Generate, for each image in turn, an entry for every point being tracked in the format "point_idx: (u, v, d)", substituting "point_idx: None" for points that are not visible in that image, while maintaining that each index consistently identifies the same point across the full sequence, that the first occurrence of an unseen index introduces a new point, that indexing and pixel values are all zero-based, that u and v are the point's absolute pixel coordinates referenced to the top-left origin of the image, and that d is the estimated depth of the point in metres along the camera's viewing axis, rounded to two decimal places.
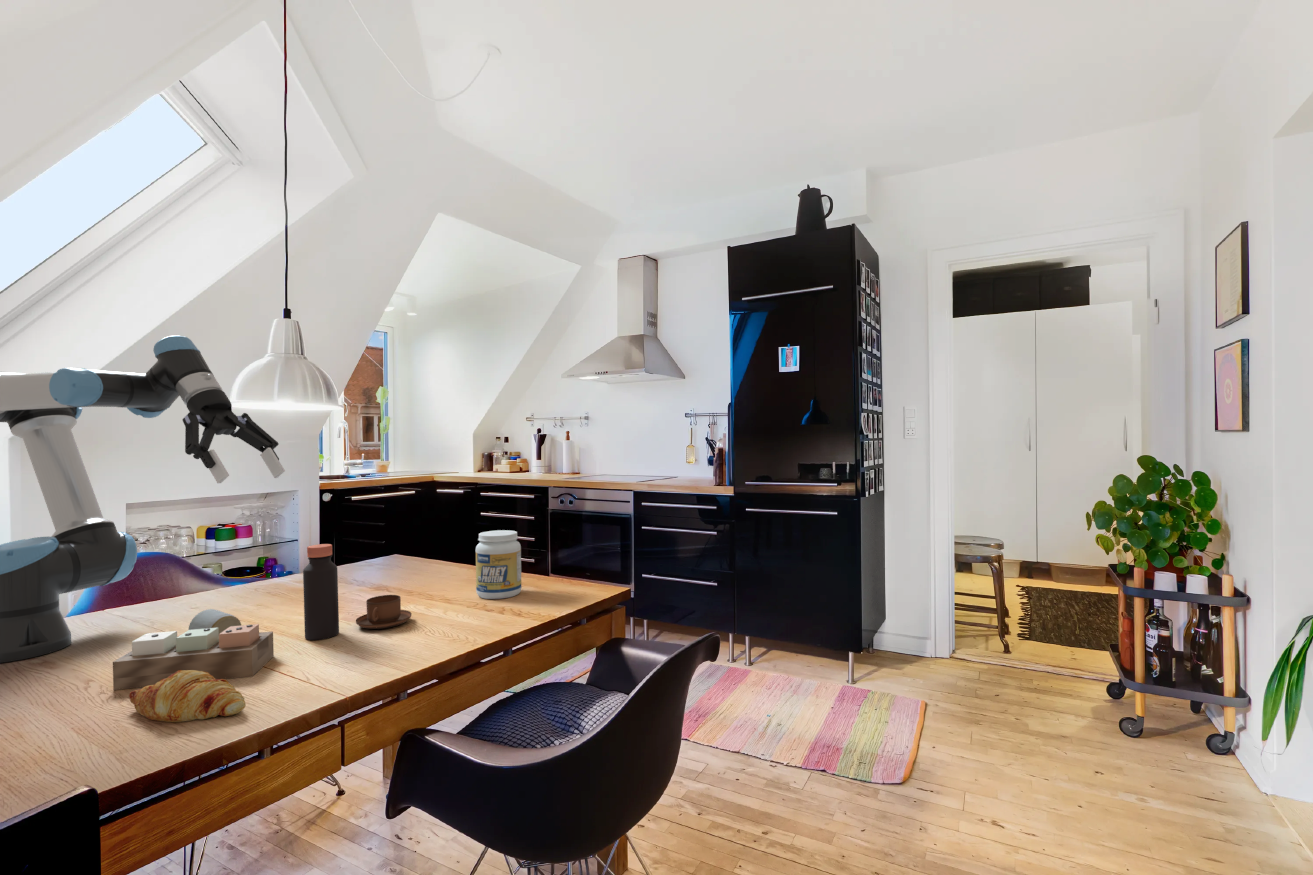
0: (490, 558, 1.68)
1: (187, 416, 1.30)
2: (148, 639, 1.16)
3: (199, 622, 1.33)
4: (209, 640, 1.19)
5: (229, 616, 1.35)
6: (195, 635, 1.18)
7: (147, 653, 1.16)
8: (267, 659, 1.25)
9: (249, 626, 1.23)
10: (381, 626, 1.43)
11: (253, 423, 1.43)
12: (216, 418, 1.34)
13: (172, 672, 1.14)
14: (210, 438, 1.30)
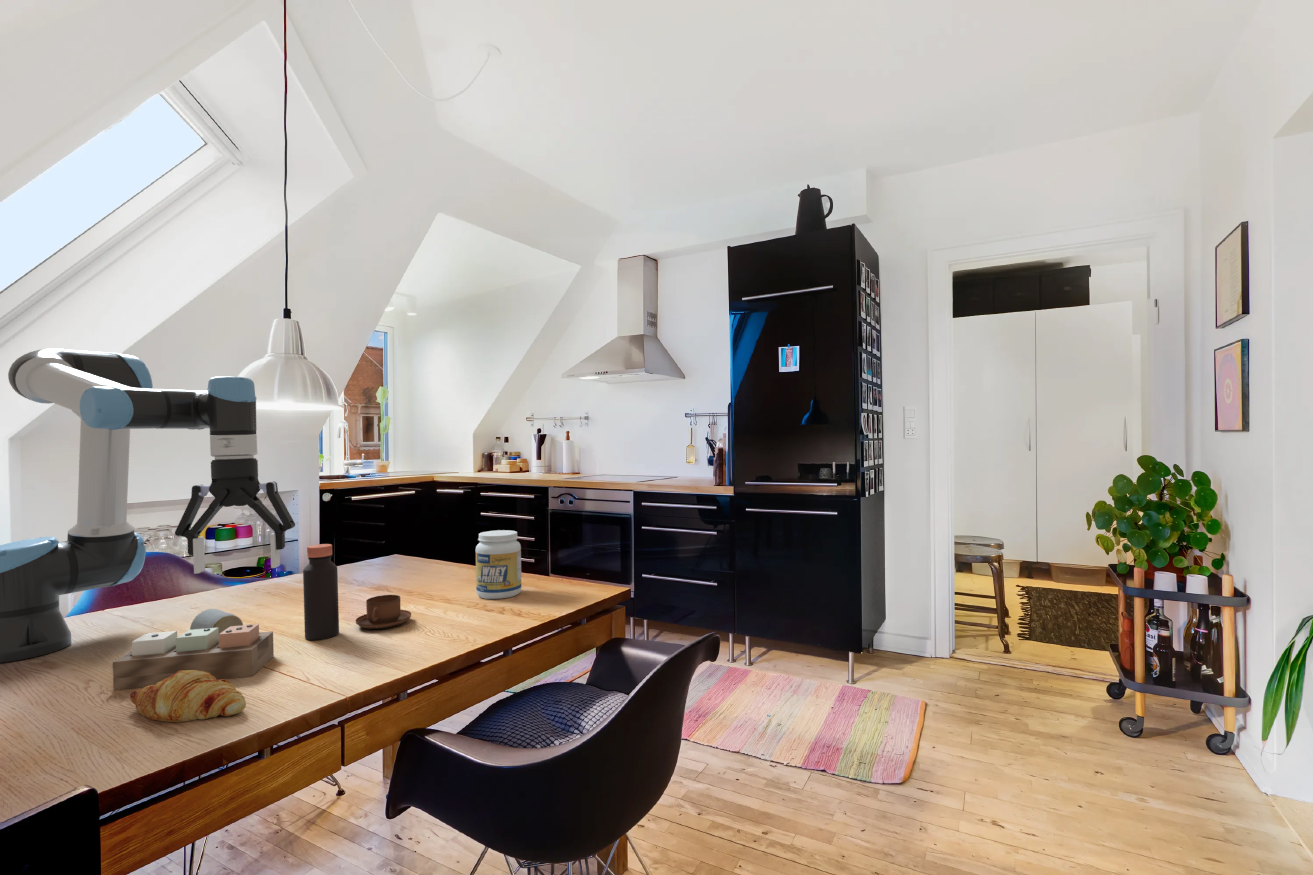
0: (490, 558, 1.68)
1: None
2: (148, 639, 1.16)
3: (201, 622, 1.34)
4: (209, 640, 1.19)
5: (231, 616, 1.35)
6: (195, 635, 1.18)
7: (147, 653, 1.16)
8: (267, 659, 1.25)
9: (249, 626, 1.23)
10: (381, 626, 1.43)
11: (273, 497, 1.22)
12: (218, 495, 1.19)
13: (172, 672, 1.14)
14: (201, 522, 1.19)
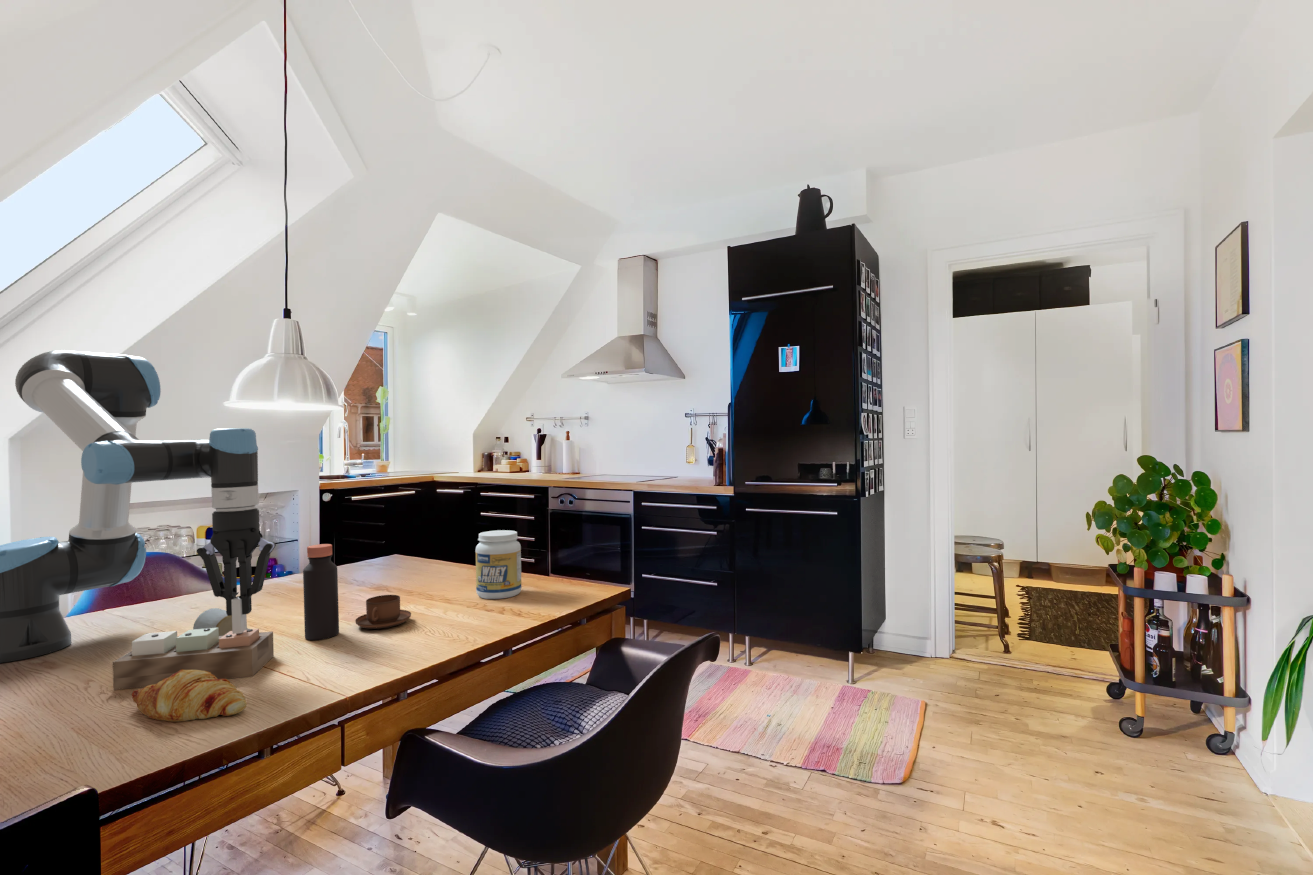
0: (490, 558, 1.68)
1: None
2: (148, 639, 1.16)
3: (204, 621, 1.34)
4: (209, 640, 1.19)
5: None
6: (195, 635, 1.18)
7: (147, 653, 1.16)
8: (267, 659, 1.25)
9: (249, 631, 1.23)
10: (381, 626, 1.43)
11: (262, 558, 1.21)
12: (223, 549, 1.19)
13: (172, 672, 1.14)
14: (229, 579, 1.20)
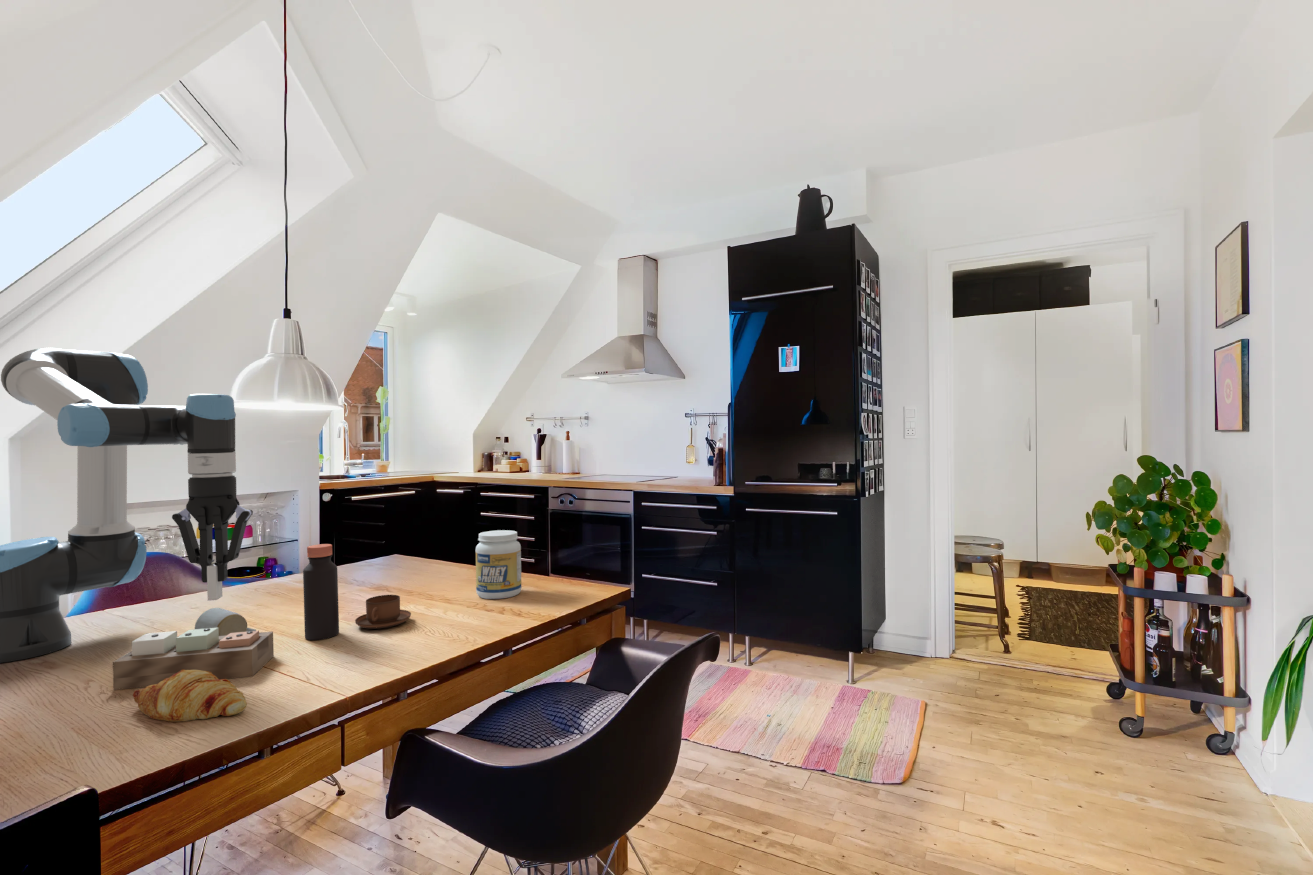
0: (490, 558, 1.68)
1: None
2: (148, 639, 1.16)
3: (205, 620, 1.34)
4: (209, 640, 1.19)
5: (235, 614, 1.36)
6: (195, 635, 1.18)
7: (147, 653, 1.16)
8: (267, 659, 1.25)
9: (249, 633, 1.23)
10: (380, 626, 1.43)
11: (239, 525, 1.21)
12: (199, 515, 1.19)
13: (172, 672, 1.14)
14: (204, 546, 1.19)
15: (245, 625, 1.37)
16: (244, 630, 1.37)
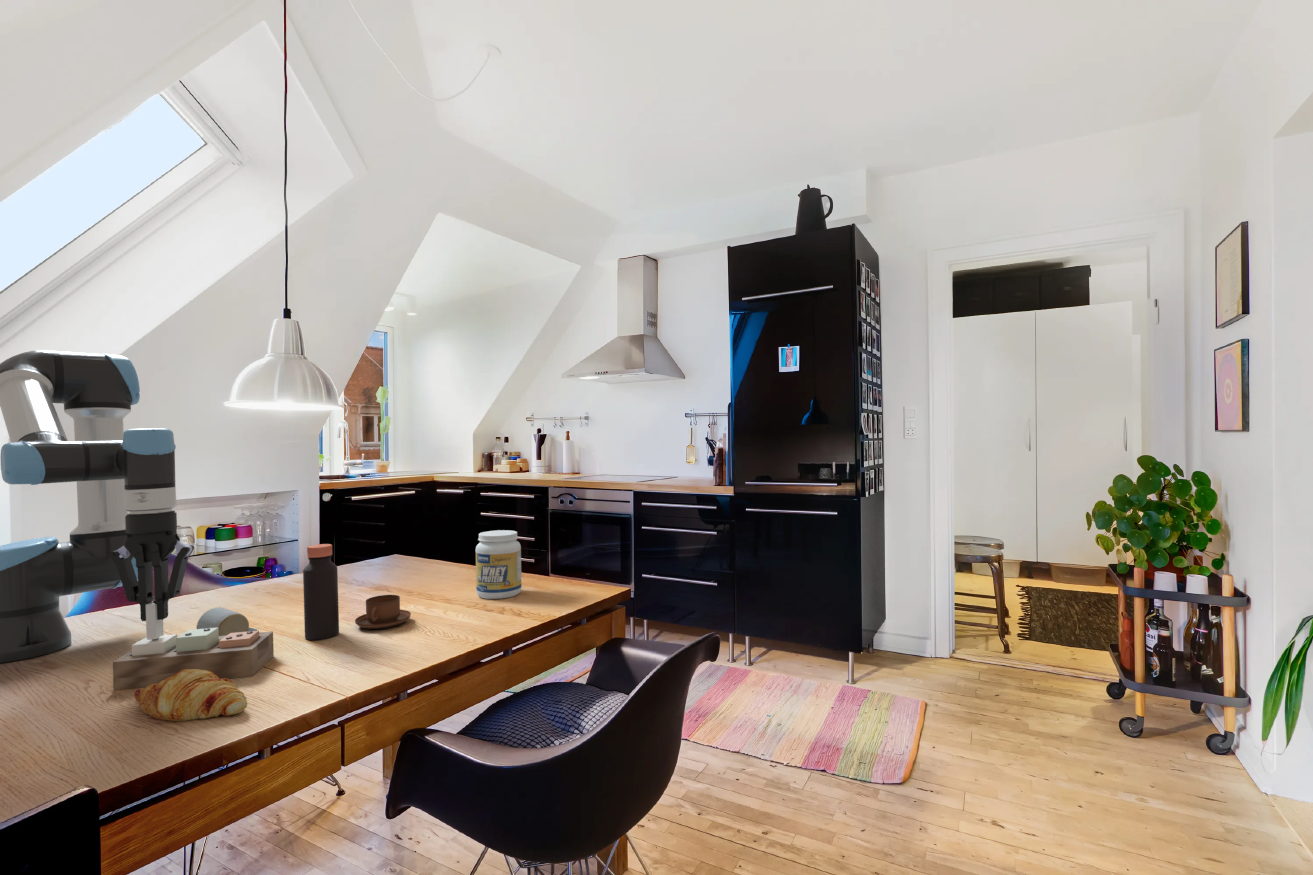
0: (490, 558, 1.68)
1: None
2: (148, 642, 1.16)
3: (207, 620, 1.35)
4: (209, 640, 1.19)
5: (237, 614, 1.36)
6: (195, 635, 1.18)
7: None
8: (267, 659, 1.25)
9: (249, 633, 1.23)
10: (380, 626, 1.43)
11: (178, 562, 1.18)
12: (137, 553, 1.16)
13: (172, 672, 1.14)
14: (143, 584, 1.17)
15: (247, 625, 1.38)
16: (246, 630, 1.37)
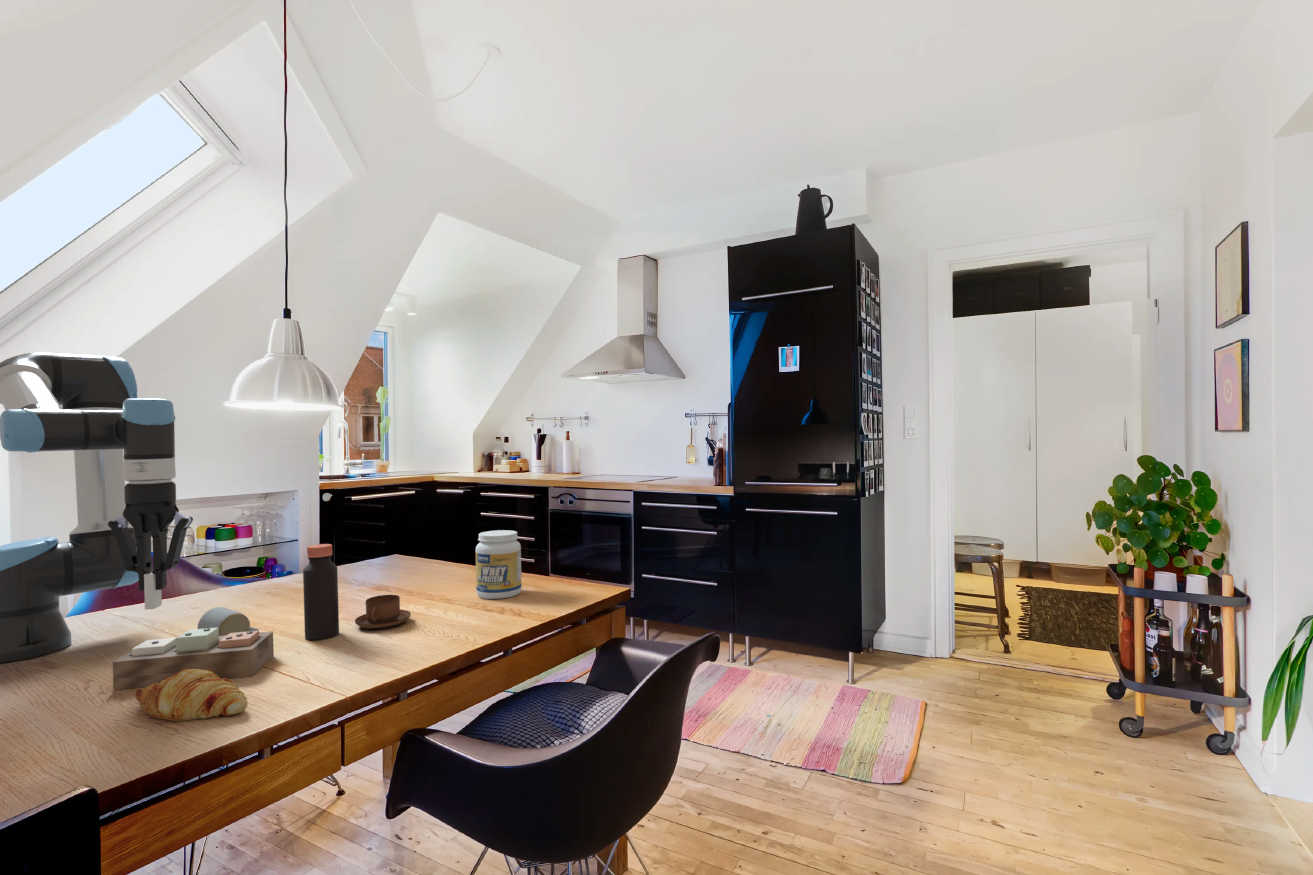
0: (490, 558, 1.68)
1: None
2: (148, 646, 1.16)
3: (208, 620, 1.35)
4: (209, 640, 1.19)
5: (238, 614, 1.36)
6: (195, 635, 1.18)
7: None
8: (267, 659, 1.25)
9: (249, 633, 1.23)
10: (380, 626, 1.43)
11: (177, 533, 1.18)
12: (136, 523, 1.16)
13: (172, 672, 1.14)
14: (141, 554, 1.17)
15: (248, 624, 1.38)
16: (247, 629, 1.38)
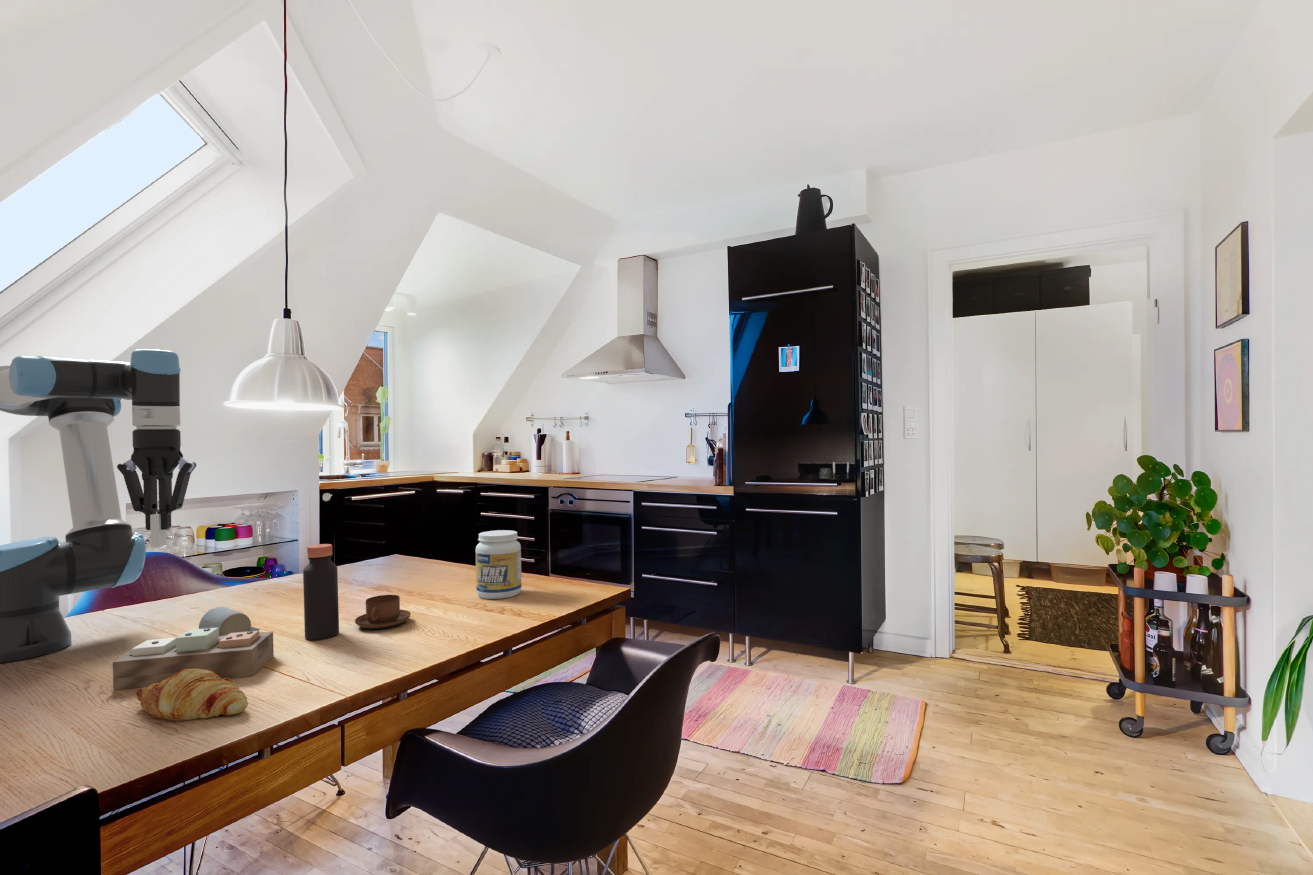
0: (490, 558, 1.68)
1: None
2: (148, 646, 1.16)
3: (209, 619, 1.35)
4: (209, 640, 1.19)
5: (239, 613, 1.36)
6: (195, 635, 1.18)
7: None
8: (267, 659, 1.25)
9: (249, 633, 1.23)
10: (380, 626, 1.43)
11: (181, 476, 1.26)
12: (143, 466, 1.24)
13: (172, 672, 1.14)
14: (148, 495, 1.25)
15: (249, 624, 1.38)
16: (248, 629, 1.38)
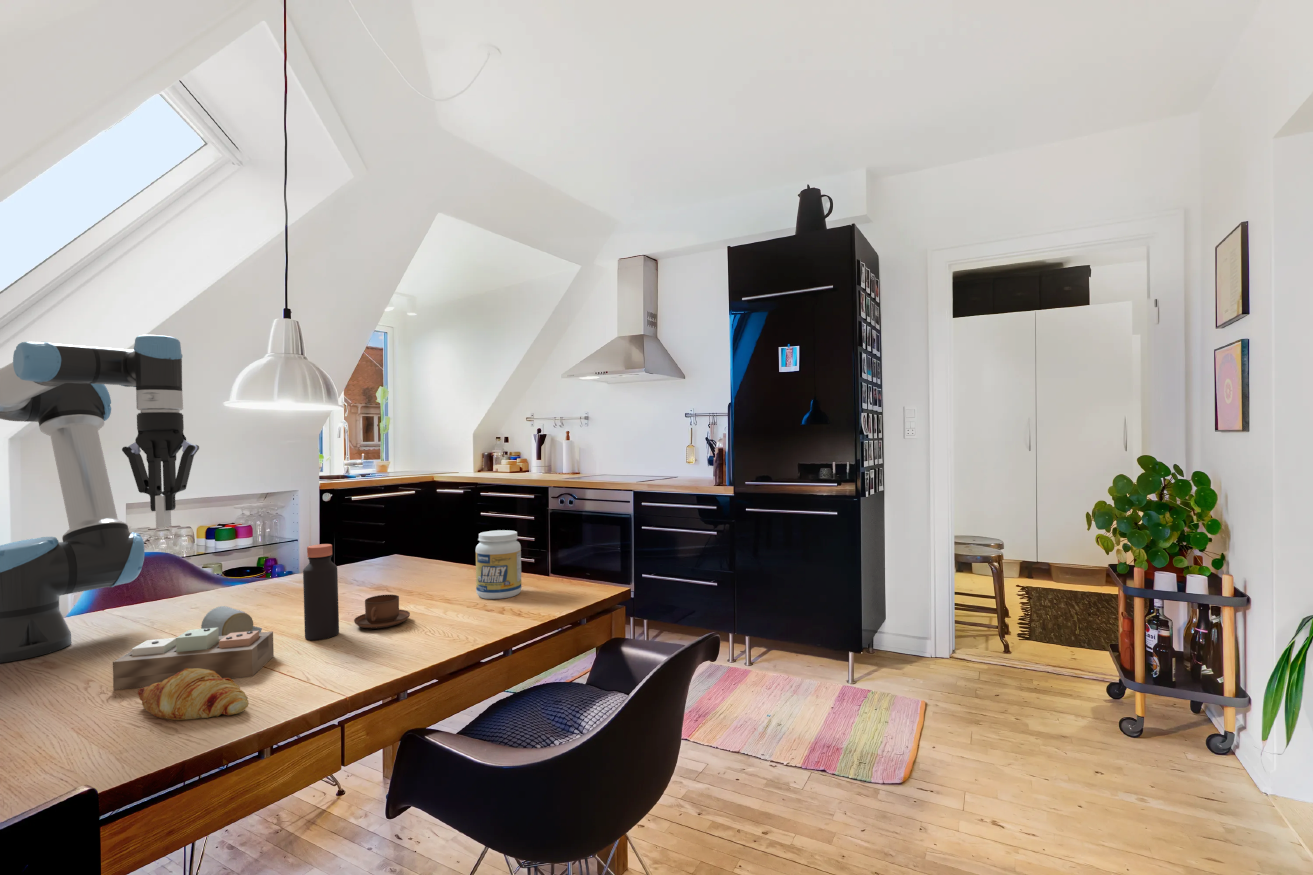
0: (490, 558, 1.68)
1: None
2: (148, 646, 1.16)
3: (212, 619, 1.36)
4: (209, 640, 1.19)
5: (241, 613, 1.37)
6: (195, 635, 1.18)
7: None
8: (267, 659, 1.25)
9: (249, 633, 1.23)
10: (379, 626, 1.43)
11: (185, 458, 1.30)
12: (147, 448, 1.28)
13: (172, 672, 1.14)
14: (152, 477, 1.28)
15: (251, 623, 1.38)
16: (250, 628, 1.38)
